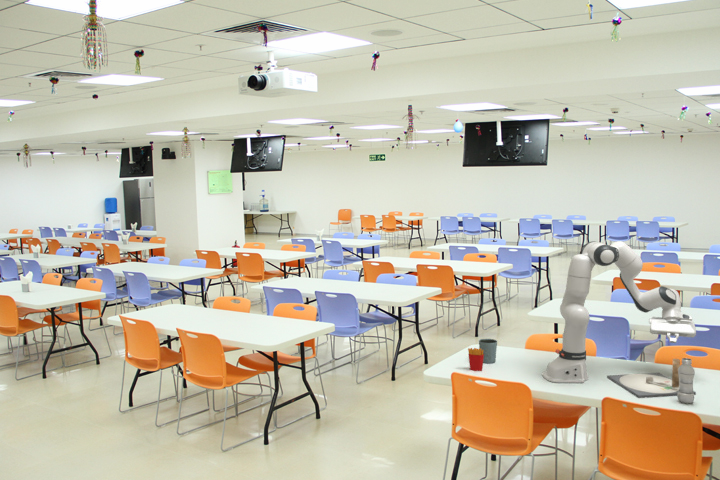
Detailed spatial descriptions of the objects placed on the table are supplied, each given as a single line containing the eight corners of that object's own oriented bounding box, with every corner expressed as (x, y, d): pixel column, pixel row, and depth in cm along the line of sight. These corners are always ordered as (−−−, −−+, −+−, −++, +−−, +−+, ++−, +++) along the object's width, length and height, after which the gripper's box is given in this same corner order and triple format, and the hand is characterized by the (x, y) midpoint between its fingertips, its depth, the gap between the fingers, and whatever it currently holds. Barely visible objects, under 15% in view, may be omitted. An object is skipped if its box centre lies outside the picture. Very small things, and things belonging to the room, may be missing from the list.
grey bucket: (476, 362, 321) (475, 341, 320) (483, 357, 329) (483, 337, 328) (493, 365, 315) (493, 344, 314) (499, 360, 323) (499, 339, 322)
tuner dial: (638, 398, 263) (638, 394, 263) (607, 377, 291) (607, 374, 291) (695, 394, 265) (695, 391, 265) (659, 374, 293) (659, 371, 293)
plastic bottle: (692, 406, 252) (693, 362, 250) (675, 402, 257) (676, 359, 255) (695, 401, 257) (697, 358, 255) (678, 398, 261) (680, 356, 259)
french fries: (484, 369, 309) (484, 347, 307) (483, 371, 305) (483, 349, 304) (468, 367, 312) (468, 346, 310) (467, 370, 308) (467, 348, 307)
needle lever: (644, 382, 278) (645, 354, 277) (647, 380, 280) (648, 352, 279) (677, 390, 266) (678, 361, 265) (680, 388, 268) (681, 359, 267)
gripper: (649, 313, 289) (649, 336, 281) (695, 316, 281) (697, 341, 273) (648, 319, 294) (648, 343, 286) (693, 323, 286) (695, 347, 278)
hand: (673, 342), depth 279 cm, fingers closed
